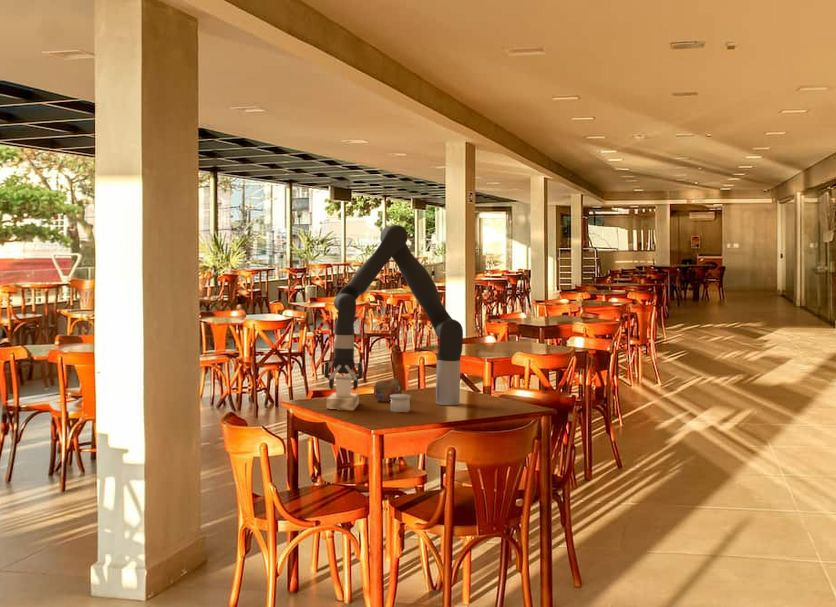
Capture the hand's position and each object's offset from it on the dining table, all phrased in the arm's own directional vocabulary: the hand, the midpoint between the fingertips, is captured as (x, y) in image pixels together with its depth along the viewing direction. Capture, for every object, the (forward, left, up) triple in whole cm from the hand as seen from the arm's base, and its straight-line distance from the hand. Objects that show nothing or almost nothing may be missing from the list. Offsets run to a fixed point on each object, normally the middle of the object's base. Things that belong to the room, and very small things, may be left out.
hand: (343, 389), depth 352 cm
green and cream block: (0, 0, -2) cm, 2 cm away
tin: (-15, -19, -7) cm, 25 cm away
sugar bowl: (-22, +6, -6) cm, 24 cm away
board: (0, 0, -6) cm, 6 cm away
